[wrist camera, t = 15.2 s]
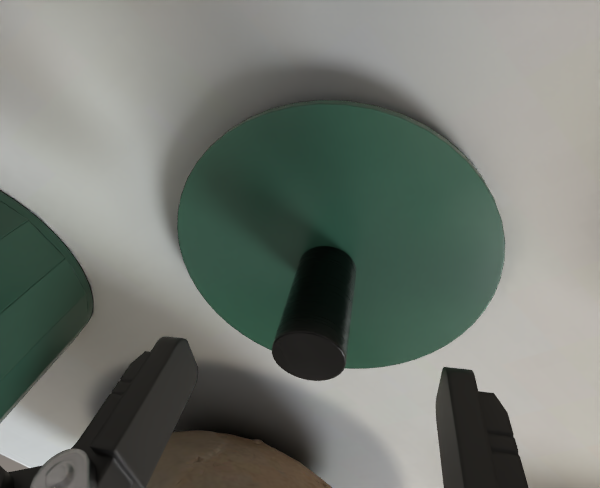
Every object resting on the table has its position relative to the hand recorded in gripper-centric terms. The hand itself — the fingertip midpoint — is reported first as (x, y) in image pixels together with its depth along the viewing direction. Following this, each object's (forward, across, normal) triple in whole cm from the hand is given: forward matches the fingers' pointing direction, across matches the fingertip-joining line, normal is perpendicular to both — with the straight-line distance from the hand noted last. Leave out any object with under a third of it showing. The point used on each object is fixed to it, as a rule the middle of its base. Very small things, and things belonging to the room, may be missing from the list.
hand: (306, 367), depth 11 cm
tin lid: (+5, 0, 0) cm, 5 cm away
